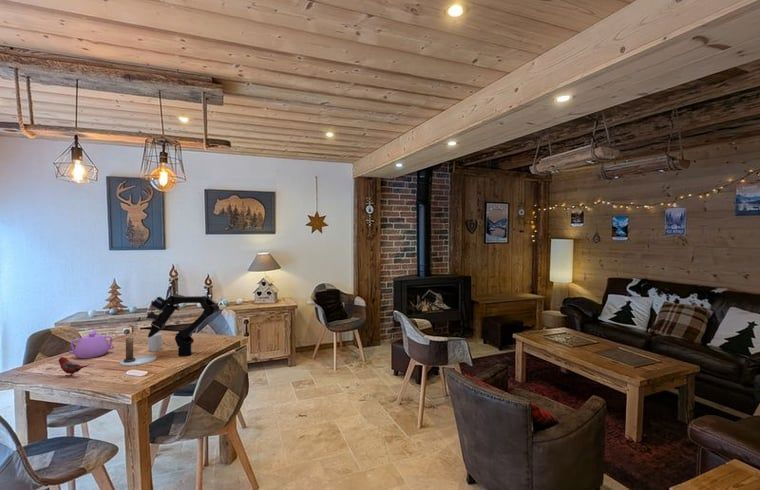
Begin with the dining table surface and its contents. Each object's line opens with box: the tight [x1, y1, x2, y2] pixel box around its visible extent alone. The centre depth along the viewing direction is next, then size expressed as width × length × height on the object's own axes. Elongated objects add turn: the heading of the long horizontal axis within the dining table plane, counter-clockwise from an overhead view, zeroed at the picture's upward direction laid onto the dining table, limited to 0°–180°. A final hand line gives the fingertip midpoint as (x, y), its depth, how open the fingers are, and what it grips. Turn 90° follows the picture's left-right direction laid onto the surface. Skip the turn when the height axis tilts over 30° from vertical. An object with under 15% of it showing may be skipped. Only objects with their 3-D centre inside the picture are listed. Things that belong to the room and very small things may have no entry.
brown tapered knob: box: [123, 337, 135, 363], centre depth 211 cm, size 6×6×13 cm
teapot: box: [68, 328, 115, 359], centre depth 226 cm, size 22×22×14 cm
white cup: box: [147, 332, 163, 352], centre depth 236 cm, size 8×8×10 cm
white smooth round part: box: [119, 354, 157, 367], centre depth 214 cm, size 18×18×1 cm
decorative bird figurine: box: [57, 356, 90, 377], centre depth 189 cm, size 3×18×10 cm, turn 84°
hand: (149, 336), depth 220 cm, fingers open, 9 cm apart
